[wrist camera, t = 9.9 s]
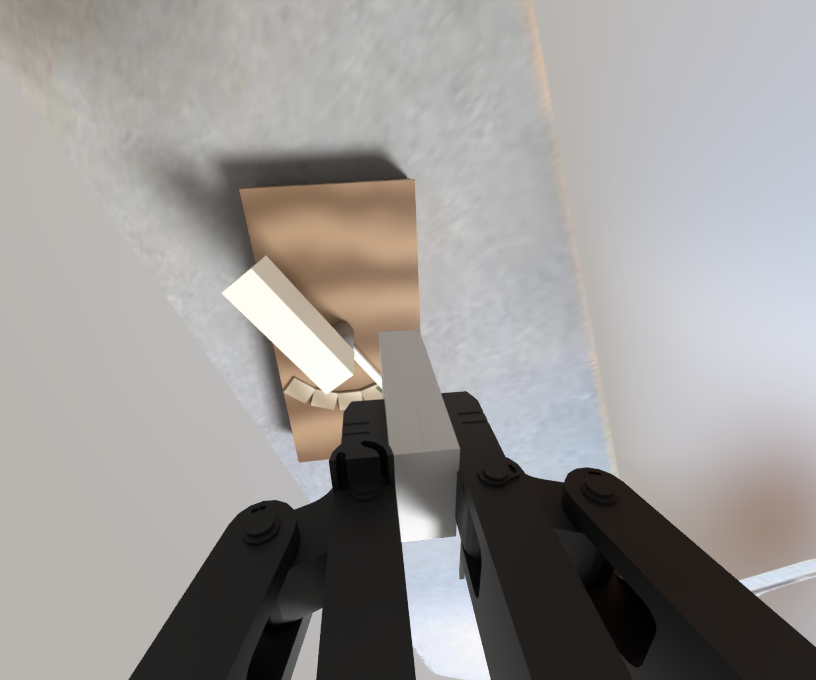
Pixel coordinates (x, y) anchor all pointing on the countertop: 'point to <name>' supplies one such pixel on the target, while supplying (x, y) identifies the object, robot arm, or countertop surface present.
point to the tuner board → (339, 282)
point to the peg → (297, 326)
